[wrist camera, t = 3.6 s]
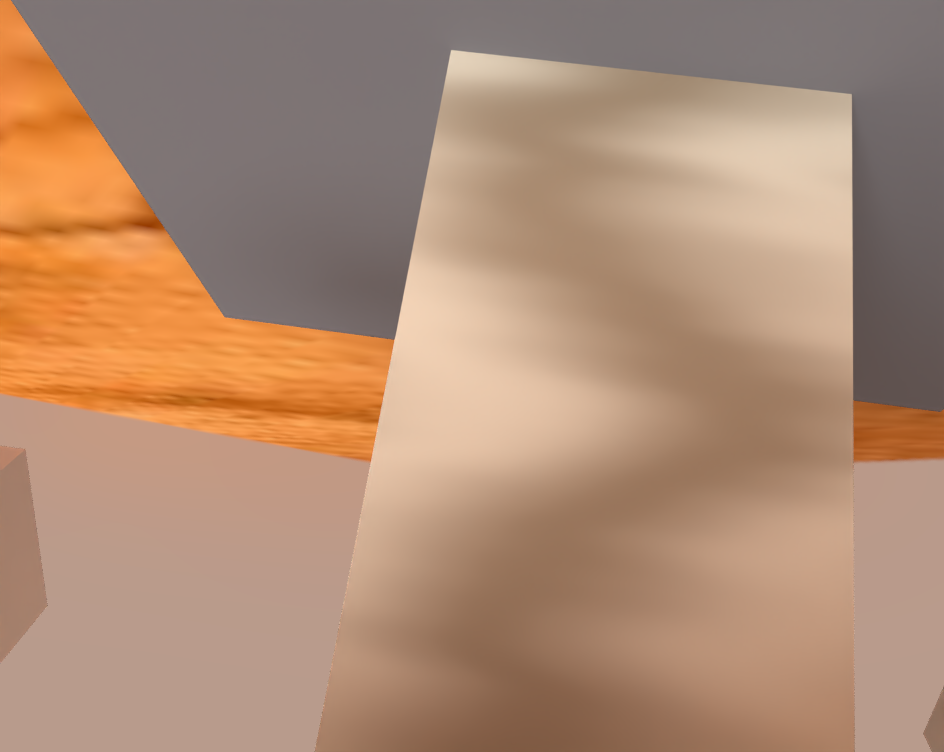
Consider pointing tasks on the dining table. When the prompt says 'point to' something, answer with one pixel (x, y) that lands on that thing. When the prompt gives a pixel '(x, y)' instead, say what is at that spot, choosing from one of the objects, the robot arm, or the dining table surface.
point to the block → (613, 428)
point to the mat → (415, 118)
